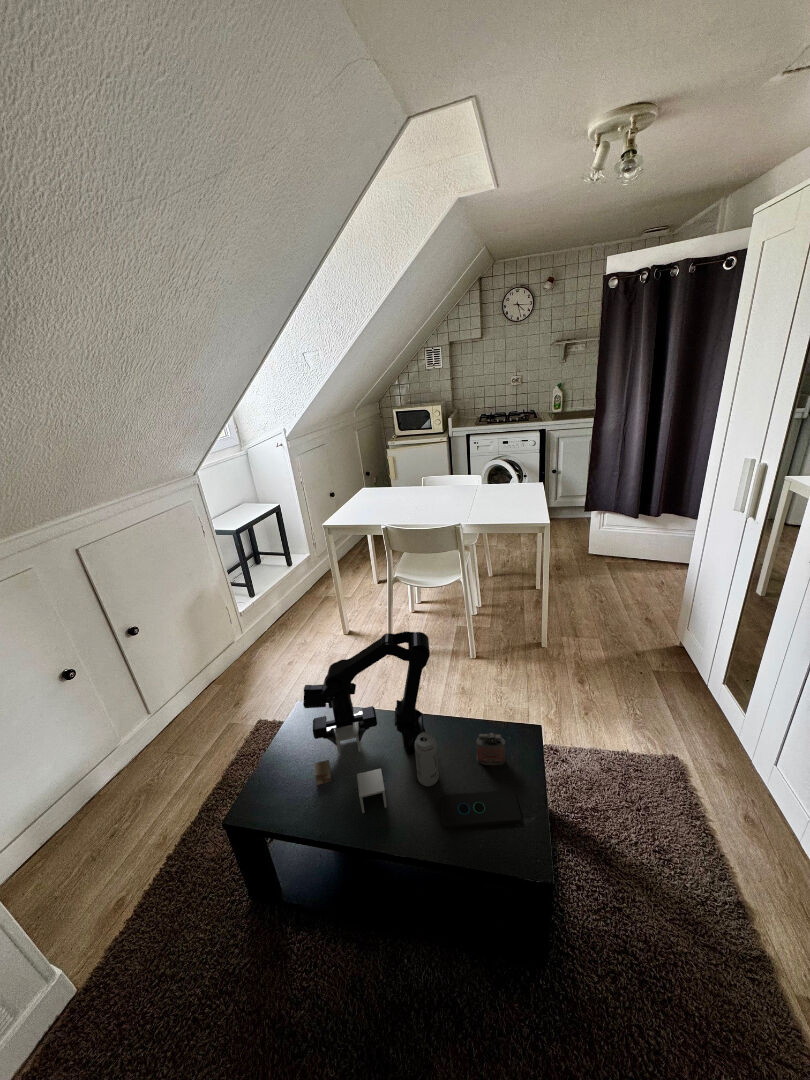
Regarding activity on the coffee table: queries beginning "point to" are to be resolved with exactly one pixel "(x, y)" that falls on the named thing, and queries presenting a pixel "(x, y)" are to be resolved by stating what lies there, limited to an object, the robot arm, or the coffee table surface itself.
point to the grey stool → (370, 785)
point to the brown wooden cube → (322, 772)
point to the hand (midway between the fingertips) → (348, 742)
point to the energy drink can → (426, 759)
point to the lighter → (490, 749)
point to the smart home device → (479, 809)
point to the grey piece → (347, 735)
